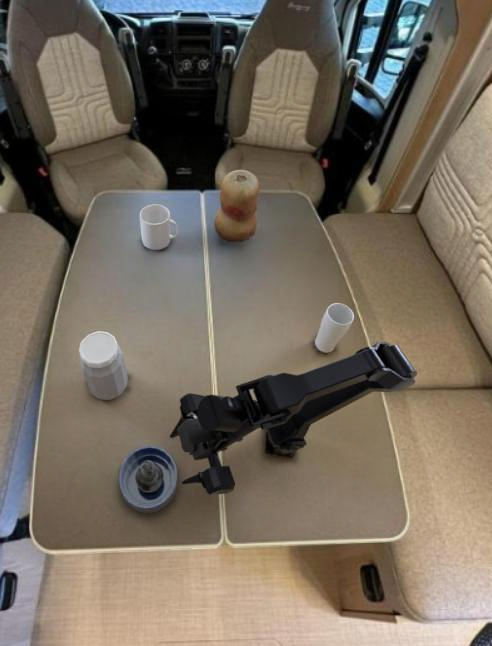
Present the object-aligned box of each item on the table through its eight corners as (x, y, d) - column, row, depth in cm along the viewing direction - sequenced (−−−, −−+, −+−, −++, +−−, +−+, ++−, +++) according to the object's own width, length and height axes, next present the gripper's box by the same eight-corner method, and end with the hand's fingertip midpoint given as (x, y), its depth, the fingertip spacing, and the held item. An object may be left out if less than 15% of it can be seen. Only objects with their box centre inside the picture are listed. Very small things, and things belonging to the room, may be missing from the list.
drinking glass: (308, 349, 112) (323, 318, 101) (315, 330, 116) (330, 298, 105) (332, 360, 110) (350, 329, 99) (339, 340, 114) (357, 309, 103)
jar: (81, 380, 105) (67, 344, 91) (114, 359, 109) (105, 320, 95) (102, 410, 100) (90, 376, 86) (135, 386, 104) (129, 349, 90)
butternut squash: (208, 245, 137) (213, 184, 118) (218, 219, 145) (224, 158, 126) (249, 255, 134) (261, 194, 115) (257, 228, 143) (269, 167, 124)
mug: (142, 231, 140) (139, 204, 131) (177, 230, 141) (177, 203, 132) (142, 251, 134) (139, 225, 125) (179, 250, 135) (179, 223, 126)
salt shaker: (161, 464, 92) (159, 446, 83) (166, 492, 88) (164, 477, 79) (134, 470, 91) (129, 453, 82) (138, 499, 87) (134, 485, 78)
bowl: (172, 518, 86) (171, 512, 81) (115, 508, 86) (112, 502, 82) (181, 458, 93) (181, 450, 89) (129, 449, 94) (126, 441, 90)
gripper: (190, 373, 77) (137, 412, 83) (224, 476, 66) (159, 513, 72) (226, 381, 85) (175, 416, 91) (262, 475, 73) (201, 508, 80)
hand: (177, 459), depth 83 cm, fingers open, 9 cm apart
